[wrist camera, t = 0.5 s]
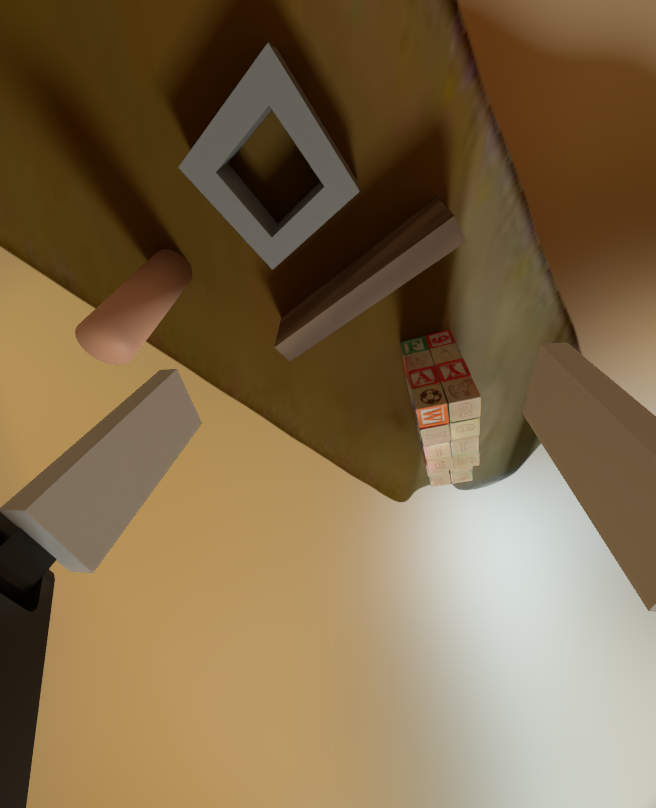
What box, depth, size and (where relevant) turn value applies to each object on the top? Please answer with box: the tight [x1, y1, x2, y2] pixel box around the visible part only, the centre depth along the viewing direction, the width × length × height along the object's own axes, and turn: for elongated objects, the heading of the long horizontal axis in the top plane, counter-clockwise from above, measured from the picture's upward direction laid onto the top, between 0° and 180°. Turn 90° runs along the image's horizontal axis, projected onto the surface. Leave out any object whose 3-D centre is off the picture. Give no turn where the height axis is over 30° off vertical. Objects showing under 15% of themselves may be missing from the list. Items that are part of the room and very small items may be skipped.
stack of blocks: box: [400, 330, 481, 486], centre depth 42 cm, size 21×6×12 cm, turn 18°
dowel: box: [75, 249, 192, 365], centre depth 29 cm, size 4×4×14 cm
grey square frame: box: [178, 43, 360, 270], centre depth 26 cm, size 10×10×4 cm
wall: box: [275, 197, 466, 361], centre depth 31 cm, size 2×20×6 cm, turn 129°
